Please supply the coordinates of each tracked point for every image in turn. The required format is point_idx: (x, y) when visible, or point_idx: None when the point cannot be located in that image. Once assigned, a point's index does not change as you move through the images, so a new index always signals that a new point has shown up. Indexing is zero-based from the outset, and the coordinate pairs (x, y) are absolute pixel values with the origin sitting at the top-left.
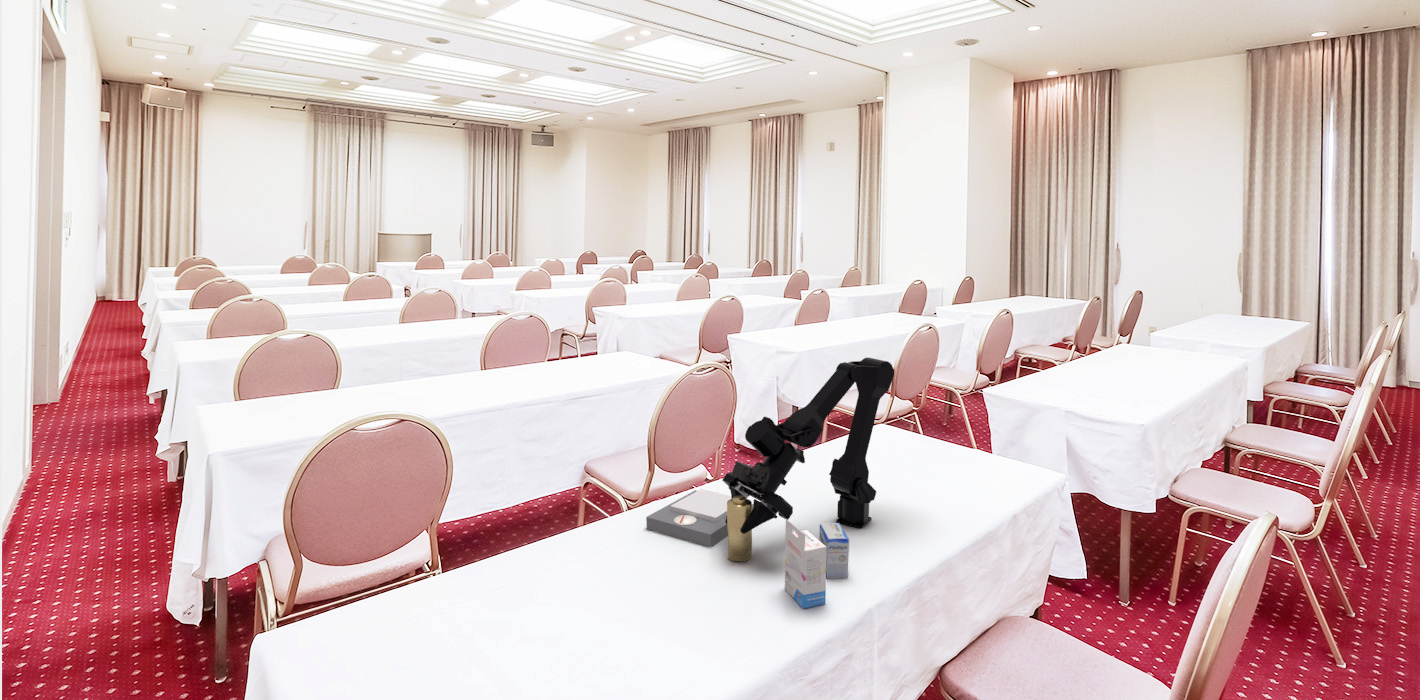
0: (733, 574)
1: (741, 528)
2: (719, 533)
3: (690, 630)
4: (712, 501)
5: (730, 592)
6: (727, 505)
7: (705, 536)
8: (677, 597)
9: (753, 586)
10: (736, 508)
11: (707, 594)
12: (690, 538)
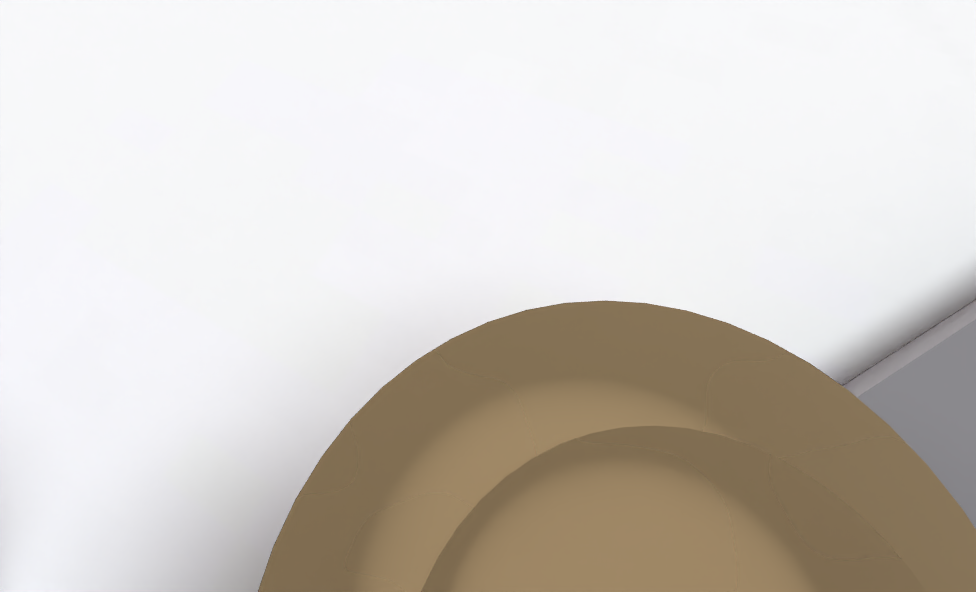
0: (354, 388)
1: None
2: None
3: (85, 37)
4: None
5: (200, 279)
6: (656, 320)
7: None
8: (319, 76)
9: (163, 421)
10: (378, 409)
11: (259, 182)
12: (910, 346)
